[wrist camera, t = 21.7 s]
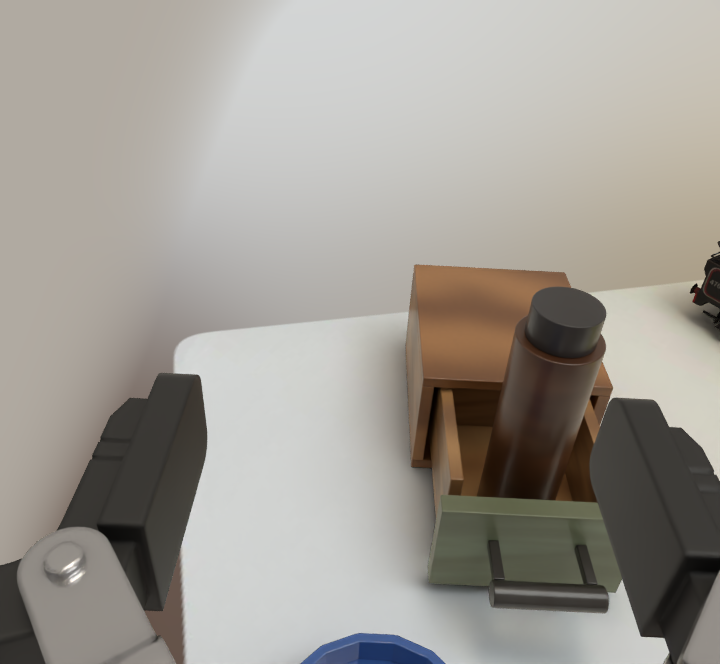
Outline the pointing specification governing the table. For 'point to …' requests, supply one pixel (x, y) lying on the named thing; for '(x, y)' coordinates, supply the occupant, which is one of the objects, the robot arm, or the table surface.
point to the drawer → (515, 518)
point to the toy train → (709, 287)
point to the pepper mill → (544, 394)
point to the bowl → (372, 651)
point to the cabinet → (468, 337)
